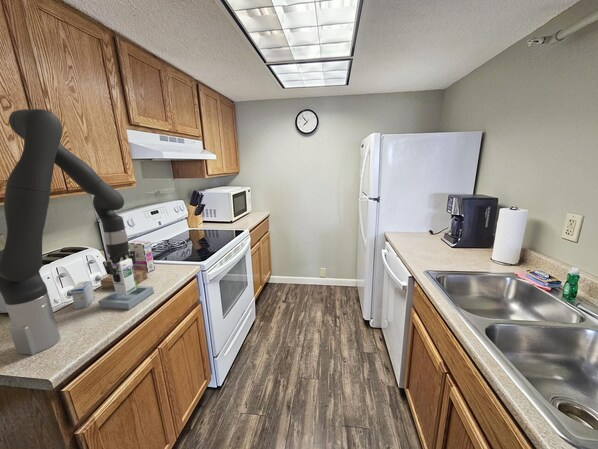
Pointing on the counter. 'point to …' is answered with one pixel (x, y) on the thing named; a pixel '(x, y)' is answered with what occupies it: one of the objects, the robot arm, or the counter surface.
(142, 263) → the candy bar box
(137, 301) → the tray
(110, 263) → the robot arm
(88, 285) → the medicine box
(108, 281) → the socket collar
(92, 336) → the counter surface
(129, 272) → the syrup box
